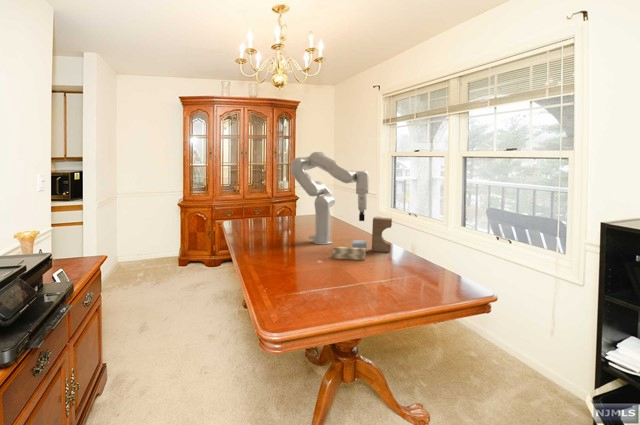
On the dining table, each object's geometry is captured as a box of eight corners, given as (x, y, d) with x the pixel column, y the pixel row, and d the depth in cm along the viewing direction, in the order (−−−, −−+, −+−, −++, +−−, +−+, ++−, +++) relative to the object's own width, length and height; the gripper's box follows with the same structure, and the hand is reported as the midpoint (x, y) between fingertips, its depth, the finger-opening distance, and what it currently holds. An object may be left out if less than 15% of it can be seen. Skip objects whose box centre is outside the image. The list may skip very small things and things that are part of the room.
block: (352, 253, 214) (352, 243, 213) (353, 249, 222) (353, 240, 221) (365, 253, 213) (366, 243, 212) (366, 250, 221) (366, 240, 220)
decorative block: (390, 250, 221) (392, 218, 218) (390, 252, 215) (391, 219, 212) (372, 248, 224) (373, 217, 221) (371, 251, 218) (372, 218, 215)
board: (332, 258, 203) (332, 247, 202) (333, 256, 206) (333, 246, 205) (365, 260, 200) (365, 249, 199) (365, 258, 203) (365, 248, 202)
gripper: (367, 192, 214) (367, 223, 217) (368, 190, 229) (368, 218, 232) (355, 192, 215) (354, 222, 218) (356, 190, 230) (356, 218, 233)
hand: (361, 220), depth 225 cm, fingers closed
